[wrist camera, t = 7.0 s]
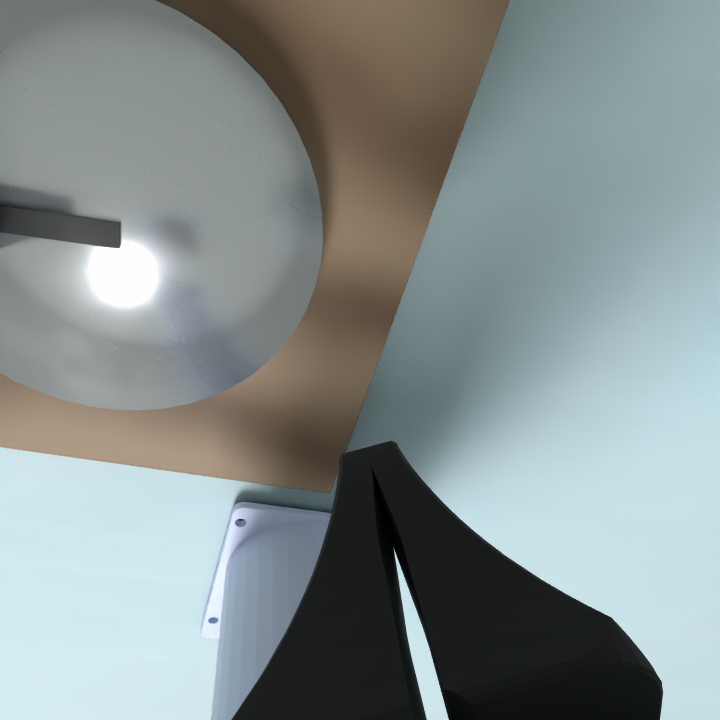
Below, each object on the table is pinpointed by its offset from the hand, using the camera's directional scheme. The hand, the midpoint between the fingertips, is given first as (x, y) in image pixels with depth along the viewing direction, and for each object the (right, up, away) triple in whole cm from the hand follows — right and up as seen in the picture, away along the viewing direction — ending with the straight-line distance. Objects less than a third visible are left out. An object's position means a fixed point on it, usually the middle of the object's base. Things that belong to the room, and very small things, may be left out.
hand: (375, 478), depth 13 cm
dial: (-8, +7, +5) cm, 12 cm away
